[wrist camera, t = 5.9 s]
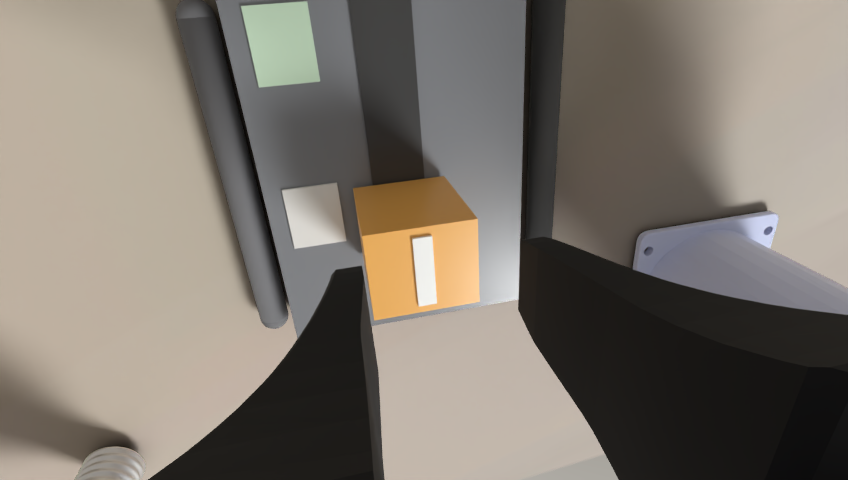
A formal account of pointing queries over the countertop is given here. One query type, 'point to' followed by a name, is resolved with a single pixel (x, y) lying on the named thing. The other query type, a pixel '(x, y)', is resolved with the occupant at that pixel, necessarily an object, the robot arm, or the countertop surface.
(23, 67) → the countertop surface
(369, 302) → the breaker panel
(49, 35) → the countertop surface
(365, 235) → the knob
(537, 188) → the dark grey rod
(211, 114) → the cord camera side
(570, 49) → the countertop surface
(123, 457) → the lightbulb
